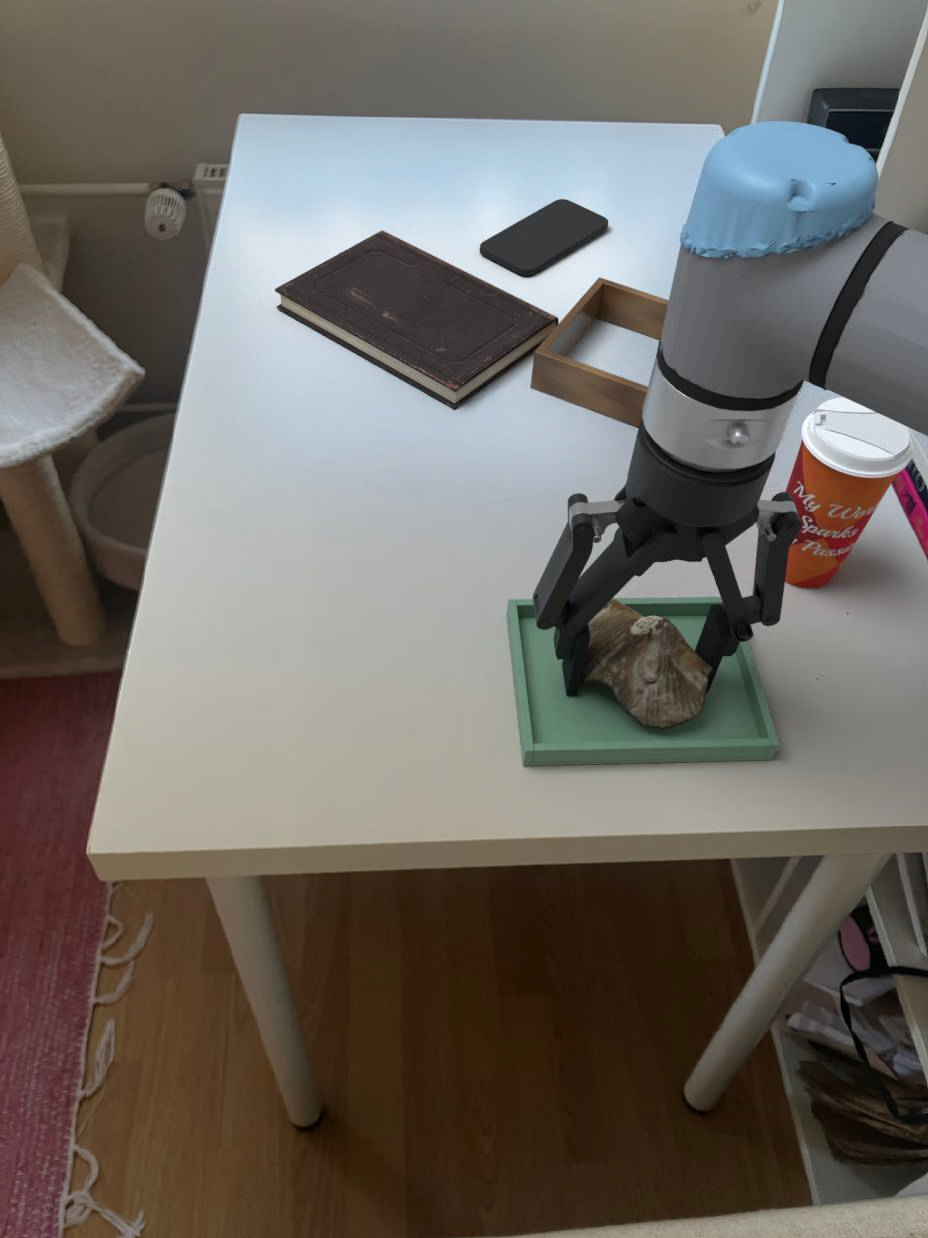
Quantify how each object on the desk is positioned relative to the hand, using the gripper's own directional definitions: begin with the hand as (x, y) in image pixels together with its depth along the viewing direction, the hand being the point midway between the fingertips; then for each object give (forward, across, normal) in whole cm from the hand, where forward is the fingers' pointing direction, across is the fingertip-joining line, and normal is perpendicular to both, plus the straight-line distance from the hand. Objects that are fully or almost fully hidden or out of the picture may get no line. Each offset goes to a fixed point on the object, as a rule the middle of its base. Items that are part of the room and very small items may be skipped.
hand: (634, 678), depth 72 cm
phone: (+1, 0, +60) cm, 60 cm away
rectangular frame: (+1, +8, +35) cm, 36 cm away
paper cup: (+1, +16, +12) cm, 20 cm away
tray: (+1, 0, 0) cm, 1 cm away
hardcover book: (+1, -14, +45) cm, 47 cm away
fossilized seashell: (0, 0, 0) cm, 0 cm away
